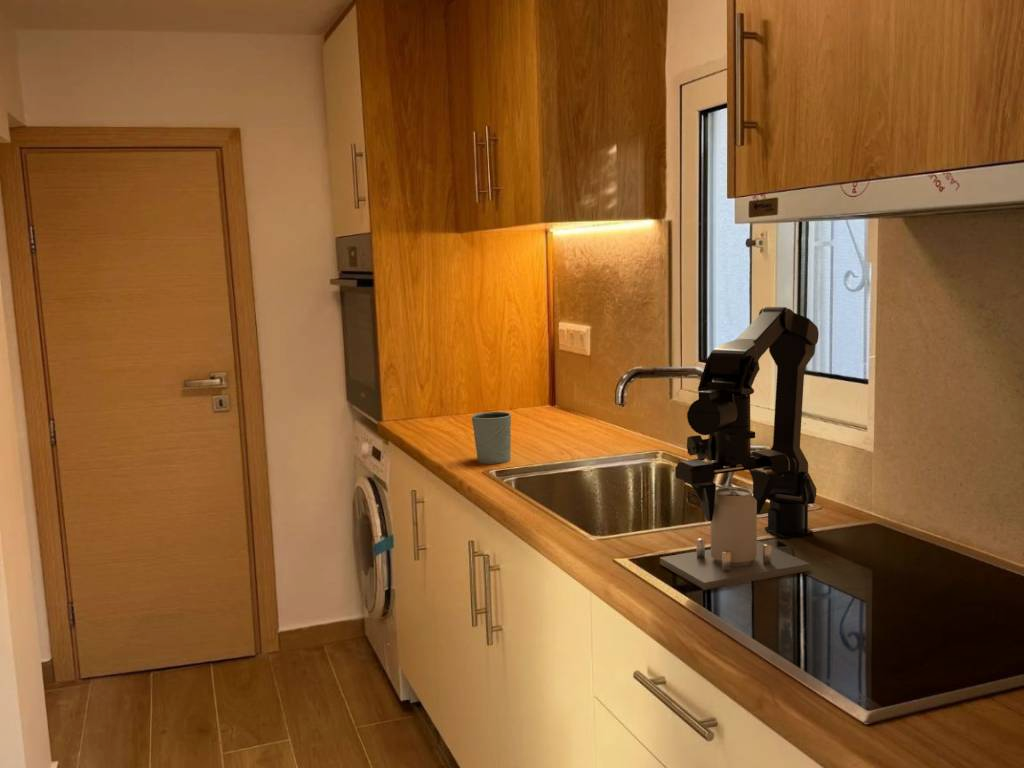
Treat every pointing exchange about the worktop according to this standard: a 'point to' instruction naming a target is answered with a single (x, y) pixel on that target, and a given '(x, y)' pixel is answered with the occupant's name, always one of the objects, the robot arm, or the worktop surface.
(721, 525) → the can
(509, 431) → the grey-blue cup
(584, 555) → the worktop surface
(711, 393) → the robot arm
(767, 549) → the pin tray
